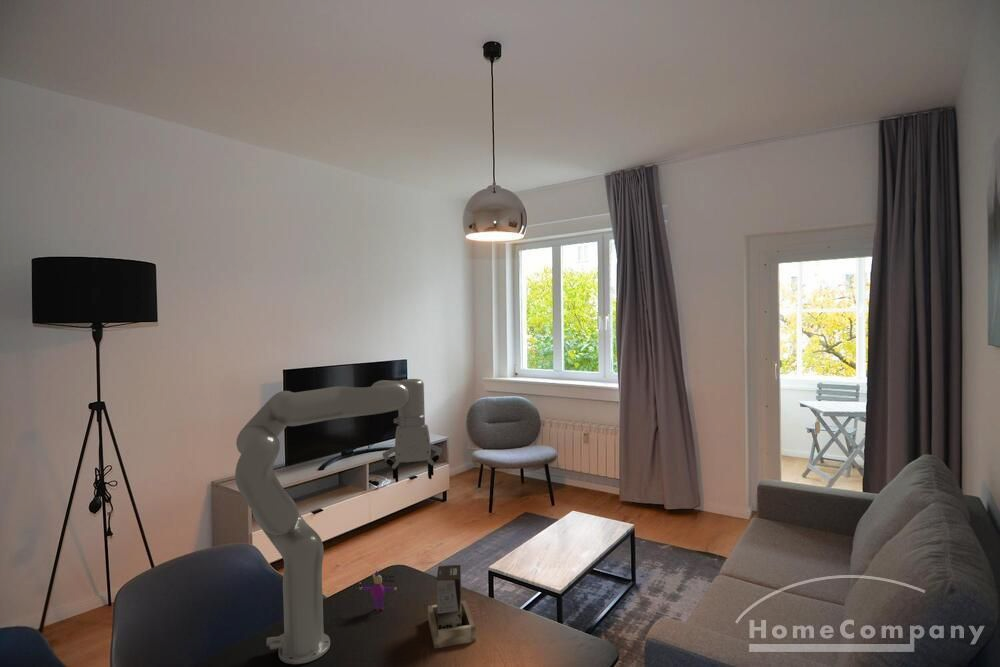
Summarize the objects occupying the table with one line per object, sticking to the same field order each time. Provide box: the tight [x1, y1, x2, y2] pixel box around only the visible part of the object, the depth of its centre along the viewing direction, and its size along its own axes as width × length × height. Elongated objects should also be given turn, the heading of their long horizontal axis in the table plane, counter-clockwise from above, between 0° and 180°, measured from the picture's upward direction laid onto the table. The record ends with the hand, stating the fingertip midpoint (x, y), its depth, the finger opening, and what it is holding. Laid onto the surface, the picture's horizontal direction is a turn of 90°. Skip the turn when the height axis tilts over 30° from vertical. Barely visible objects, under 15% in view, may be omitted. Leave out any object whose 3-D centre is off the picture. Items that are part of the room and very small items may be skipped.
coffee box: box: [436, 564, 463, 630], centre depth 146 cm, size 9×6×16 cm
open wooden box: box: [427, 600, 477, 649], centre depth 147 cm, size 11×14×4 cm
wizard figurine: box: [359, 570, 398, 611], centre depth 157 cm, size 11×3×12 cm, turn 85°
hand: (413, 479), depth 157 cm, fingers open, 9 cm apart
